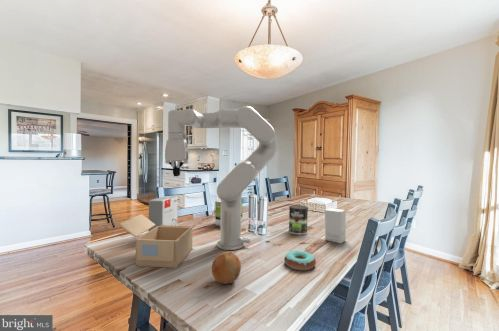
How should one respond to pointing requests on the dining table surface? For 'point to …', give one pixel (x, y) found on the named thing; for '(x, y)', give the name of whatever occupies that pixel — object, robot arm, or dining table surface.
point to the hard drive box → (163, 211)
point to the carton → (164, 246)
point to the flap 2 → (192, 227)
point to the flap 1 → (137, 225)
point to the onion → (226, 267)
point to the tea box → (218, 212)
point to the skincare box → (335, 225)
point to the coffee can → (298, 219)
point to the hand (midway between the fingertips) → (176, 176)
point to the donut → (300, 260)
